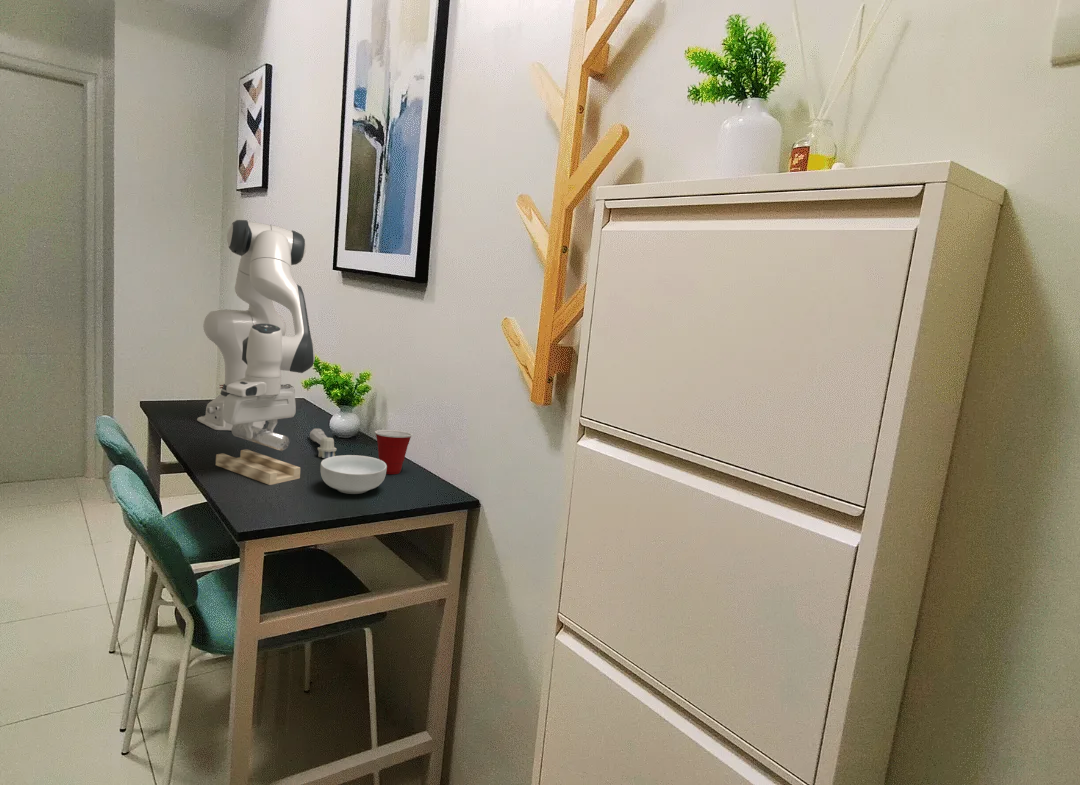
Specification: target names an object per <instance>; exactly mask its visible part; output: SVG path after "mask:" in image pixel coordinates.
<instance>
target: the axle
mask: <svg viewBox="0 0 1080 785" xmlns="http://www.w3.org/2000/svg"><path fill="white" fill-rule="evenodd" d="M251 428H252V430H253V431H254V432H256V435H255V436H256V437H255V438H252V439H249V438H247V431H246V430H245V428H244V426H243V424H236V425H233V427H232V430H231V434H232V435H233V436H234V437H237V438H241V439H242V440H246V441H250V442H252V443H256V444H258V445H262V446H265V447H268V448H270V449H274V450H277V451H280V452H283V451H286V450H287V448H289V445H290V439H289V437H288V436H287V435H284V434H280V433H277V432H274V431H273V432H271V431H268V430H264V429H265V428H262V429H261V428H258V427H255V426H251Z"/></svg>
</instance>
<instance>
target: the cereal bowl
mask: <svg viewBox="0 0 1080 785" xmlns="http://www.w3.org/2000/svg"><path fill="white" fill-rule="evenodd" d="M319 469H320V470H319V471H320V477H321V478H322V480H323V482H324V483H325V484H326V485H327V486H329V488H332V489H334V490H337V491H338V492H340V493H343V494H350V495H358V494H363V493H367V492H368V491H371V490H373V489H376V488H377V487H379V486H380V485H381V484H382V483H383V482H384V480H385V477H386V475H387V474H386V470H387V465H386V463H385V462H383V461H381V460H379V458H376V457H372V456H367V455H360V454H359V455H357V454H356V455H355V454H353V455H352V454H346V455H345V454H344V455H335V456H333V457H329V458H323V459H322V460H321V462H320V466H319Z"/></svg>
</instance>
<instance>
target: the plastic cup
mask: <svg viewBox="0 0 1080 785" xmlns="http://www.w3.org/2000/svg"><path fill="white" fill-rule="evenodd" d="M374 435H375V436H376V442H377V454H378V459H379V460H381V461H383V462H385V463H386V465H387V470H386V475H399V474H400V473H401V471H402V468H403V464H404V461H405V458H406V454H407V450H408V446H409V443H410V441H411V438H412V437H413V435H414V434H413V433H411V432H409V431H404V430H397V429H396V430H395V429H377V430H375V431H374Z"/></svg>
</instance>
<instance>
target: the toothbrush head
mask: <svg viewBox="0 0 1080 785" xmlns="http://www.w3.org/2000/svg"><path fill="white" fill-rule="evenodd" d="M309 438H310V440H312V442H314V443H317V444H318V445H320V446H319V447H317V451H318V458H322V459H326V458H329V457H333V456H336V451H337V448H336V447H335V440H334V438H333V437H328V436H327V435H326V434H325V432H324V430H323V429H321V428H312V429H311V430H310V431H309Z"/></svg>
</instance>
